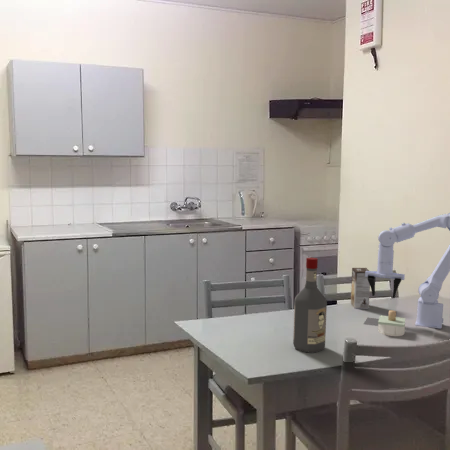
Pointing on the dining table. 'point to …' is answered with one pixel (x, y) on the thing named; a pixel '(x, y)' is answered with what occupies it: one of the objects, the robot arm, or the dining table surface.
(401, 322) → the lid
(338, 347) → the dining table surface
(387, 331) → the bowl
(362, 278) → the coffee box
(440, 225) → the robot arm
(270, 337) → the dining table surface
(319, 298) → the liquor
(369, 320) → the mat
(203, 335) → the dining table surface
